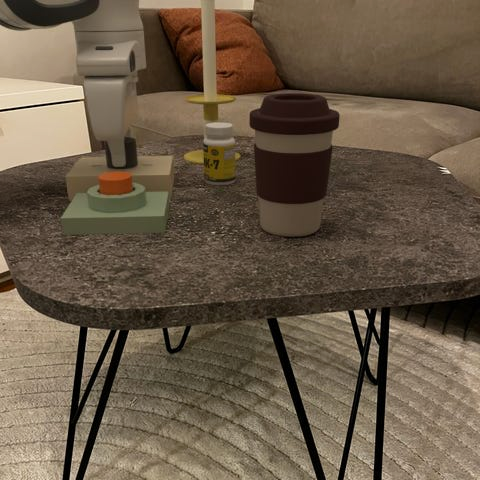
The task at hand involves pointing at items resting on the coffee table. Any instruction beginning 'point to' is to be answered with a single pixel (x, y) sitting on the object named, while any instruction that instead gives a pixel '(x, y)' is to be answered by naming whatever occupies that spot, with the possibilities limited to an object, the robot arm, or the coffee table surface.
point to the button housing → (116, 212)
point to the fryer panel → (145, 173)
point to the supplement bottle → (219, 154)
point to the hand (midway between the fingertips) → (122, 160)
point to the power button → (115, 183)
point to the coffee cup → (292, 161)
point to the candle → (208, 78)
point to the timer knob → (130, 154)
